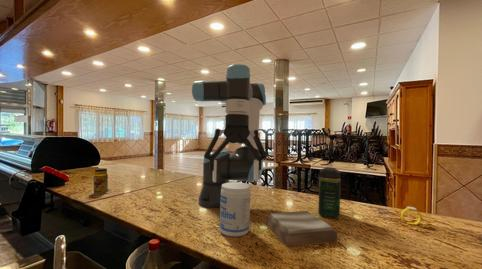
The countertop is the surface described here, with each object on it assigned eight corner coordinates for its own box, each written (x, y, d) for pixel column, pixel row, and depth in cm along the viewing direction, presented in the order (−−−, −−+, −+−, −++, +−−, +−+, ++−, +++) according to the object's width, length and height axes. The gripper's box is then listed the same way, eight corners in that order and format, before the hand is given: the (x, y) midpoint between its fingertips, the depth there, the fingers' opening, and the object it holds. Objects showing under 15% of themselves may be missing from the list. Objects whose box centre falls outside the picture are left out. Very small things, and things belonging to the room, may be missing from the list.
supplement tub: (214, 234, 68) (215, 186, 68) (227, 223, 76) (228, 180, 76) (243, 240, 64) (244, 190, 64) (253, 227, 73) (254, 183, 73)
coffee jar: (340, 220, 81) (341, 170, 81) (317, 217, 84) (318, 168, 84) (339, 212, 90) (340, 167, 90) (319, 209, 93) (320, 165, 93)
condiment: (92, 194, 106) (93, 170, 107) (92, 191, 113) (92, 167, 113) (109, 192, 111) (110, 169, 111) (108, 189, 118) (108, 166, 118)
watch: (418, 224, 80) (419, 208, 80) (422, 227, 77) (424, 210, 77) (399, 221, 82) (400, 205, 81) (402, 223, 79) (404, 207, 79)
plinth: (266, 224, 76) (266, 212, 76) (307, 220, 80) (307, 209, 80) (287, 247, 61) (287, 232, 61) (336, 241, 65) (337, 228, 65)
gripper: (198, 110, 63) (196, 184, 63) (278, 115, 70) (276, 182, 69) (196, 113, 71) (195, 179, 70) (269, 117, 77) (267, 177, 77)
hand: (235, 180), depth 70 cm, fingers open, 13 cm apart
